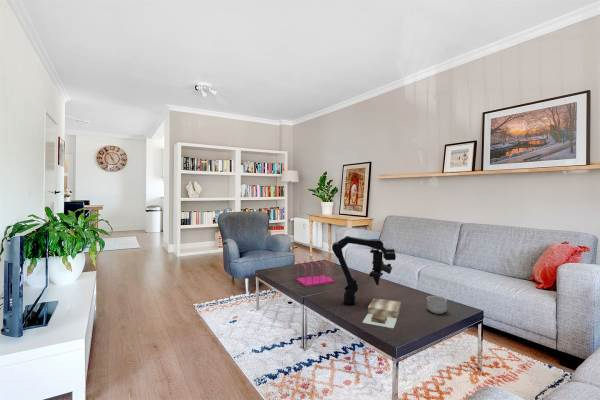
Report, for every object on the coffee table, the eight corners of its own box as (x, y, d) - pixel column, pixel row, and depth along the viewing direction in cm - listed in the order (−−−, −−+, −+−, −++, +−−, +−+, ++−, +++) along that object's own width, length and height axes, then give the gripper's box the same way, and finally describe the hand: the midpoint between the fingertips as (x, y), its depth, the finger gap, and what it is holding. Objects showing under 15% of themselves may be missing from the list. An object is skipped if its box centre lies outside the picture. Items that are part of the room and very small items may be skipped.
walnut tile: (373, 313, 170) (373, 317, 170) (371, 317, 164) (371, 321, 164) (386, 315, 166) (386, 319, 167) (384, 319, 161) (384, 323, 161)
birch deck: (367, 313, 175) (367, 306, 175) (373, 304, 189) (373, 298, 189) (397, 318, 168) (397, 311, 168) (400, 308, 182) (400, 301, 182)
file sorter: (335, 283, 233) (335, 262, 233) (304, 287, 224) (304, 265, 223) (324, 277, 249) (324, 257, 249) (296, 280, 240) (296, 260, 240)
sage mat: (362, 322, 163) (362, 322, 163) (367, 313, 175) (367, 313, 175) (393, 328, 156) (393, 328, 156) (397, 318, 168) (397, 318, 168)
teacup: (440, 317, 170) (440, 303, 170) (422, 311, 179) (422, 297, 178) (453, 311, 178) (453, 297, 178) (435, 305, 187) (435, 292, 187)
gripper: (388, 264, 177) (388, 291, 177) (393, 258, 193) (393, 282, 194) (369, 262, 181) (369, 288, 182) (375, 256, 198) (375, 280, 199)
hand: (377, 285), depth 189 cm, fingers closed
